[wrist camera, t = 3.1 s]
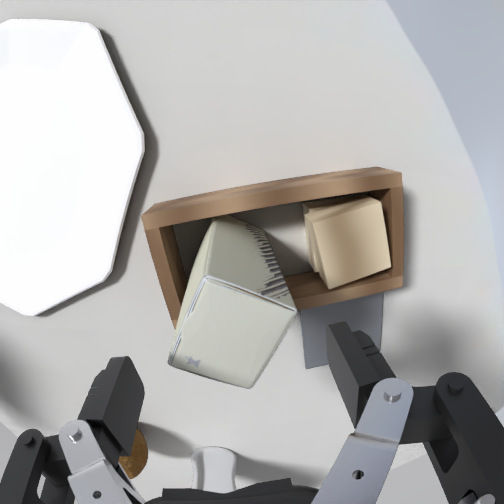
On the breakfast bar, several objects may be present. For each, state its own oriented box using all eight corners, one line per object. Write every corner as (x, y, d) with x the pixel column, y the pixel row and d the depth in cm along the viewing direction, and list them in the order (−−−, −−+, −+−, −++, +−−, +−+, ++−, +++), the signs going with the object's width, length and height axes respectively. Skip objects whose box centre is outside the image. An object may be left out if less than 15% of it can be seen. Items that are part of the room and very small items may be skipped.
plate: (-30, 24, 15) (-37, 22, 13) (191, 47, 20) (188, 41, 18) (-69, 250, 23) (-76, 255, 21) (103, 340, 28) (98, 349, 27)
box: (240, 283, 26) (250, 396, 14) (190, 264, 25) (163, 370, 13) (267, 227, 25) (303, 312, 13) (215, 205, 24) (201, 274, 12)
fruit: (116, 403, 31) (99, 457, 23) (161, 428, 32) (152, 481, 25) (97, 424, 32) (81, 472, 24) (139, 446, 34) (129, 494, 26)
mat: (381, 282, 27) (383, 283, 27) (378, 349, 30) (379, 350, 30) (298, 300, 27) (299, 301, 27) (305, 367, 30) (306, 369, 30)
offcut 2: (366, 195, 22) (380, 201, 20) (377, 255, 24) (391, 266, 21) (304, 214, 22) (312, 223, 20) (319, 275, 24) (328, 289, 22)
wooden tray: (377, 166, 24) (401, 172, 20) (382, 267, 27) (402, 286, 23) (154, 204, 23) (141, 216, 20) (181, 305, 27) (175, 331, 23)
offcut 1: (359, 193, 25) (372, 199, 22) (362, 250, 26) (374, 260, 24) (301, 202, 25) (309, 209, 22) (307, 260, 26) (315, 272, 24)
